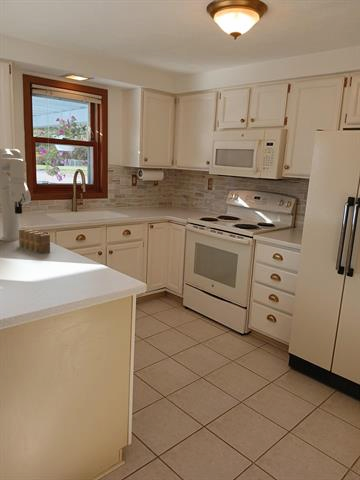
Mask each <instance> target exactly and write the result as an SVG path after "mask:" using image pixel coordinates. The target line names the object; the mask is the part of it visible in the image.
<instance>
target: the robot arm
mask: <svg viewBox="0 0 360 480" xmlns="http://www.w3.org/2000/svg"><path fill="white" fill-rule="evenodd" d="M22 157H23V155H22V153H21V152H20V150H19V149H16V148H15V149H14V148H0V207H1V217H2V218H1V220H2V221H1V222H2V225H1V226H2V236H1V237H0V241H2V242H3V241H4V242H7V241H19V230H20V215H21V214H23V205H26V204H27V205H28V204H29V203H30V202H31V200H32V199H31V198H32V197H31V193H30V190H29V188H28V185H27V183H26V181H25V179H26V178H25V160H23V159H22ZM7 172H9V174H8V173H7Z"/></svg>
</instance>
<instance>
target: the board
mask: <svg viewBox="0 0 360 480" xmlns="http://www.w3.org/2000/svg"><path fill="white" fill-rule="evenodd" d="M16 248H18V249H21V250H24V251H27V252H31V253H33V254H36V255H39V256H40V255H42V254H41V253H40V252H35V250H32V251H31V250H29V249H25V248H24V247H19V246H16ZM51 253H53V251H51V250H50V252H49V253H44V254H43V255H46V254H51Z"/></svg>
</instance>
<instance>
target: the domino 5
mask: <svg viewBox="0 0 360 480" xmlns="http://www.w3.org/2000/svg"><path fill="white" fill-rule="evenodd" d="M39 237H40V253H41V255H45V254H44V253H47V254H50V253H49V252H50V251H51V234H49V233H46V234H45V233H44V235H39Z"/></svg>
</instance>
